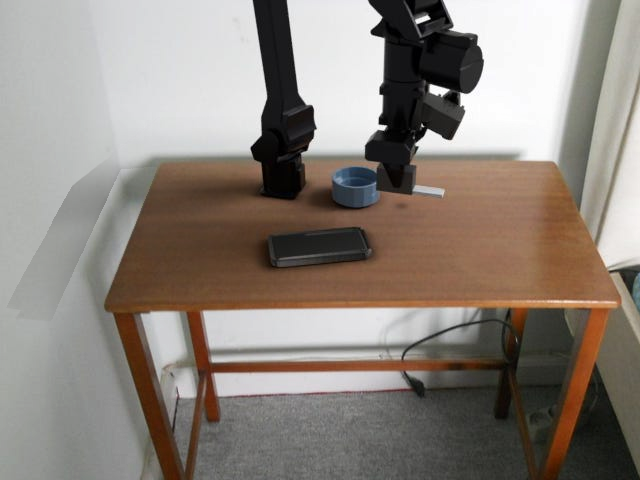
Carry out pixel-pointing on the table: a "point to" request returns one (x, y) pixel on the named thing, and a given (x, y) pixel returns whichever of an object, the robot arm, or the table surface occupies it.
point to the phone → (318, 246)
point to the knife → (405, 183)
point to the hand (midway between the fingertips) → (399, 183)
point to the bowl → (355, 186)
